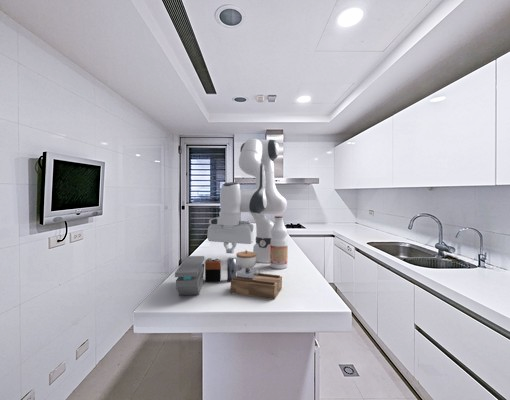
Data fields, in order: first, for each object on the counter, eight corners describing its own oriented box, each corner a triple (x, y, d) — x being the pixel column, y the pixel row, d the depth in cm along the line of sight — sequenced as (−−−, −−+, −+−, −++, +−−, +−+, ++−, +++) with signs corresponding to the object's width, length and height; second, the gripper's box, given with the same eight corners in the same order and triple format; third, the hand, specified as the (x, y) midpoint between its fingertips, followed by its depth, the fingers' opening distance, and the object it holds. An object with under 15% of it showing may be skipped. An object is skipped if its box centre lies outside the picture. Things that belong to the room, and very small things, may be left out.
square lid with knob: (243, 273, 109) (243, 265, 108) (258, 275, 106) (258, 267, 106) (236, 279, 102) (236, 269, 102) (252, 281, 100) (253, 271, 100)
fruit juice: (278, 270, 131) (279, 216, 131) (266, 266, 138) (266, 215, 138) (291, 267, 137) (291, 215, 137) (278, 263, 144) (279, 214, 144)
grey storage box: (197, 301, 92) (197, 272, 92) (175, 302, 91) (175, 272, 91) (204, 279, 117) (204, 255, 117) (187, 279, 116) (187, 256, 116)
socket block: (242, 283, 111) (242, 270, 111) (281, 288, 106) (281, 274, 105) (230, 293, 100) (230, 278, 100) (274, 299, 94) (274, 284, 94)
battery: (206, 278, 117) (206, 257, 117) (220, 278, 118) (220, 257, 117) (204, 282, 113) (204, 259, 113) (220, 281, 113) (220, 259, 113)
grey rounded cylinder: (229, 278, 118) (229, 257, 118) (237, 279, 117) (237, 258, 116) (225, 281, 114) (225, 259, 114) (233, 282, 113) (233, 260, 113)
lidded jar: (233, 269, 132) (233, 252, 131) (239, 264, 142) (239, 248, 142) (253, 271, 129) (253, 253, 129) (258, 265, 139) (258, 249, 139)
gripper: (256, 220, 106) (255, 253, 106) (212, 219, 113) (212, 249, 113) (250, 222, 100) (250, 256, 100) (205, 220, 107) (205, 252, 107)
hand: (230, 253), depth 106 cm, fingers closed
